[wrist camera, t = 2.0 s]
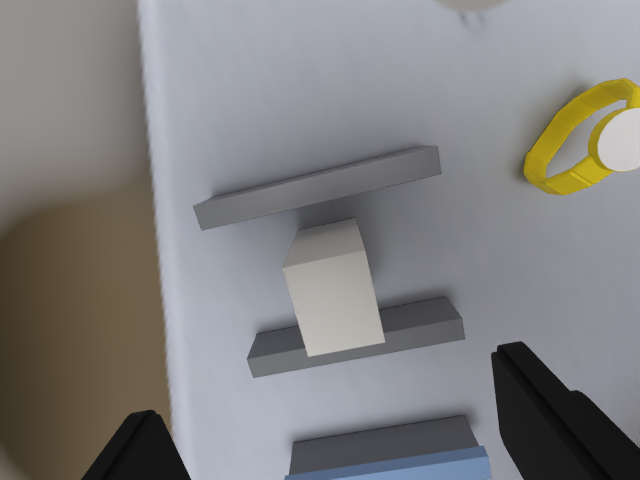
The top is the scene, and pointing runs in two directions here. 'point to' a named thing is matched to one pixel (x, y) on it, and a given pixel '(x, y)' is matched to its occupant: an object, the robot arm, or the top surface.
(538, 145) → the watch
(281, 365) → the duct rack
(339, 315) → the off-white rectangular prism
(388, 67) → the top surface
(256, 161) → the top surface
